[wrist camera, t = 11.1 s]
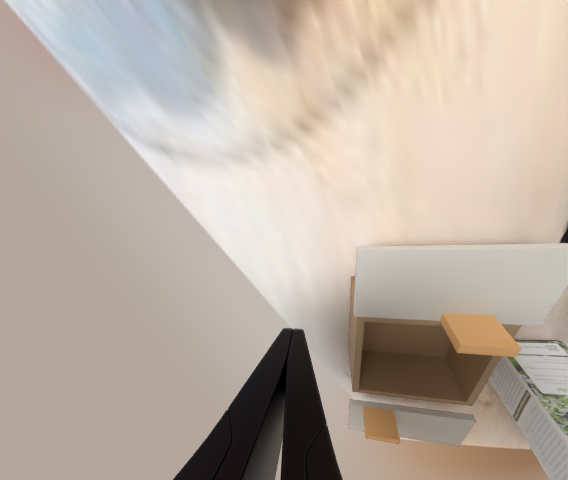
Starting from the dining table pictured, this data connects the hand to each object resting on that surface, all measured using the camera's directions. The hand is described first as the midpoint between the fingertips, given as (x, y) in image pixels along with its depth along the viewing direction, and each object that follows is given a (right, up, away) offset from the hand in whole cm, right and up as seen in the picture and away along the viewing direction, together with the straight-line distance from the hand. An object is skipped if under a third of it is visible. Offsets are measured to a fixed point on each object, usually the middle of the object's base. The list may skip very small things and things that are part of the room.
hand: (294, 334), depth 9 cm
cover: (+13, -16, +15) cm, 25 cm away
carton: (+12, -5, +14) cm, 20 cm away
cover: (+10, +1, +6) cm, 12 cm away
